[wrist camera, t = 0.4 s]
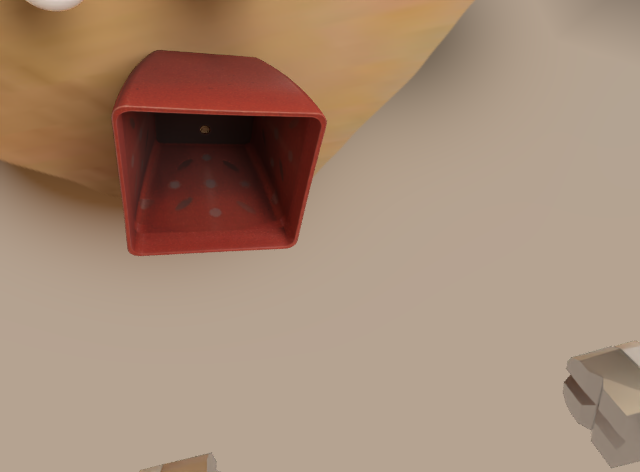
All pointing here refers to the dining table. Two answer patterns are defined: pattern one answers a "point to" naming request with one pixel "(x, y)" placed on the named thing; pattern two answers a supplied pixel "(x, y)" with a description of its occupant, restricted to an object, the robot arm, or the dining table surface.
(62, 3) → the lightbulb
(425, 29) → the dining table surface
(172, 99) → the plant pot
